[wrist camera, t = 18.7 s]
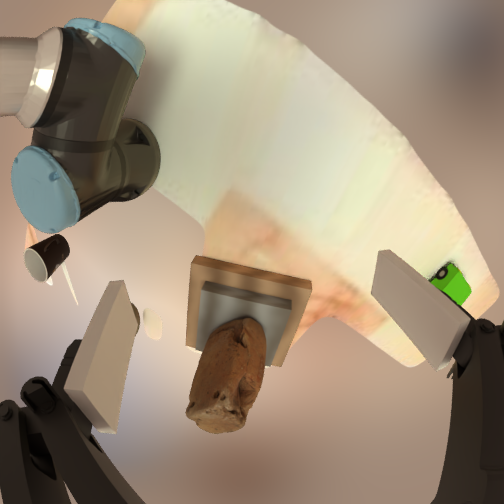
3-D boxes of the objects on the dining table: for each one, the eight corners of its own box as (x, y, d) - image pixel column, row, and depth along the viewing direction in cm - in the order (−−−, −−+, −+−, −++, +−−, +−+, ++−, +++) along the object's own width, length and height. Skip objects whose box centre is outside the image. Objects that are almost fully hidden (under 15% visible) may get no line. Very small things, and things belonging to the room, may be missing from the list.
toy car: (465, 282, 47) (486, 308, 38) (423, 320, 53) (438, 350, 44) (447, 255, 45) (471, 281, 36) (402, 298, 51) (417, 330, 42)
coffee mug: (58, 264, 58) (35, 284, 49) (45, 234, 54) (19, 252, 45) (85, 256, 55) (60, 279, 46) (71, 222, 52) (42, 241, 43)
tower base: (189, 336, 62) (181, 354, 56) (196, 255, 51) (185, 271, 46) (281, 357, 61) (280, 377, 56) (311, 281, 51) (313, 300, 46)
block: (230, 353, 54) (210, 438, 36) (205, 330, 52) (174, 417, 34) (273, 333, 50) (264, 427, 32) (248, 307, 48) (228, 404, 30)
